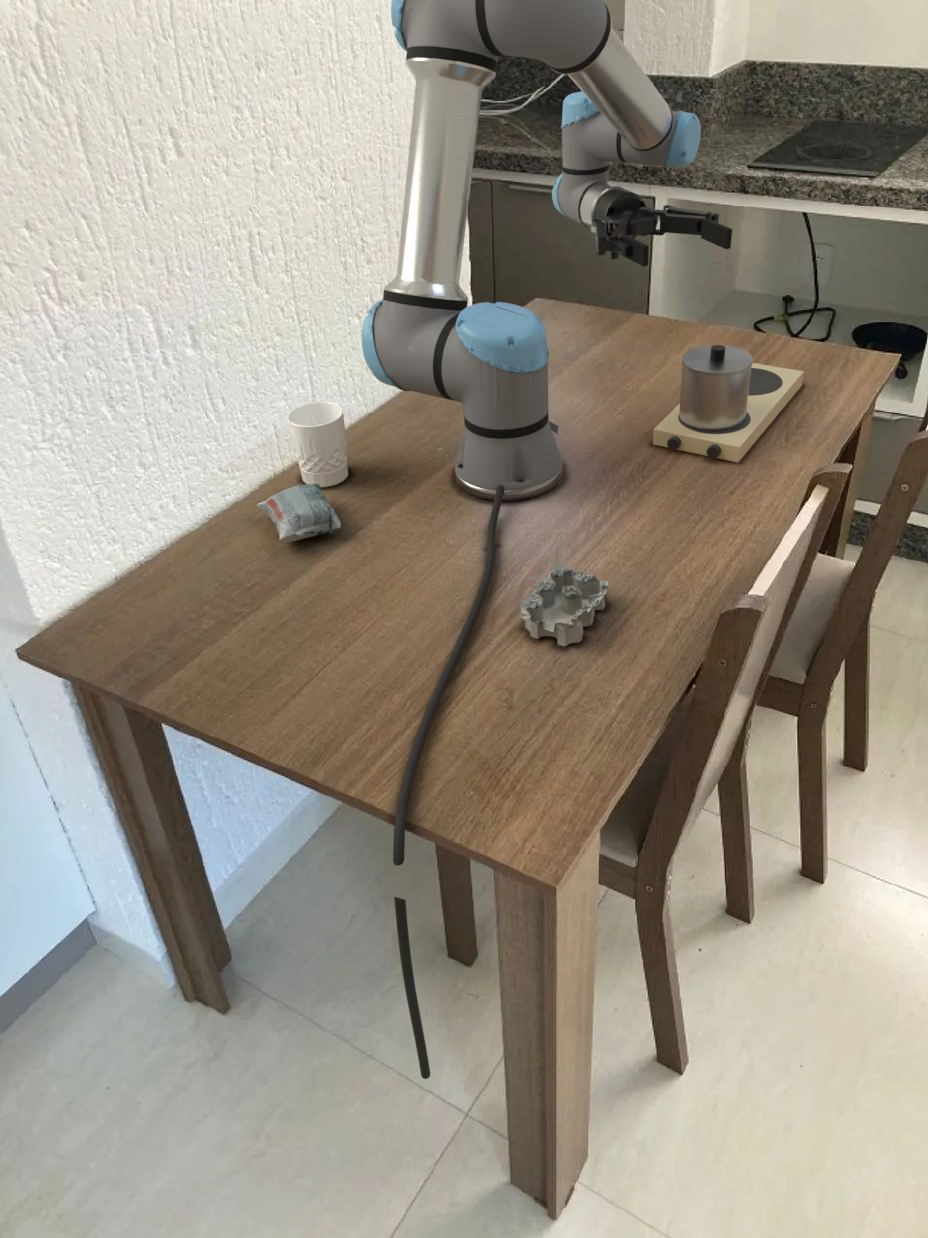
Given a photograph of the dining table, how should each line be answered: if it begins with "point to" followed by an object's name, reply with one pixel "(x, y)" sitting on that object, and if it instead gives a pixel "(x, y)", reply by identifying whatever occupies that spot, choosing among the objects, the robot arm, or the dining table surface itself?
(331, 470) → the white cup
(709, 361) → the pot
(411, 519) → the dining table surface
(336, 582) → the dining table surface
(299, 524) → the packaged food
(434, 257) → the robot arm
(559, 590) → the egg carton
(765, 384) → the hot plate
